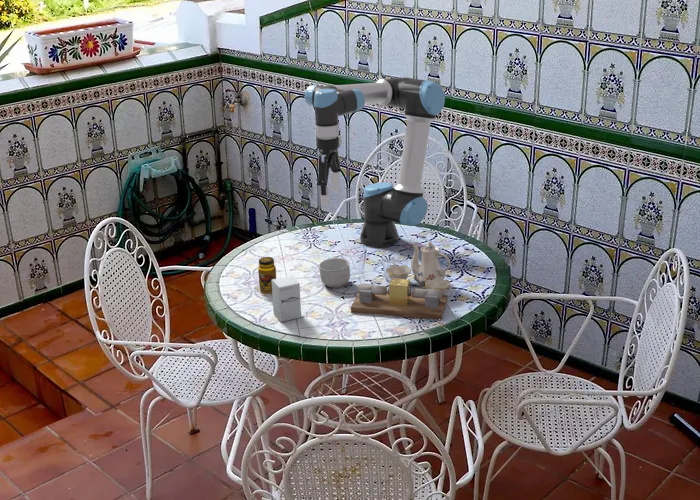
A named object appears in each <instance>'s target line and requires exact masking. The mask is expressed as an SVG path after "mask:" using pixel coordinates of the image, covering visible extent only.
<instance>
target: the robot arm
mask: <svg viewBox="0 0 700 500" xmlns="http://www.w3.org/2000/svg"><path fill="white" fill-rule="evenodd" d="M445 95H446V94H445V92H444V90H443V87H442V86H441V85H440V84H439V83H438V82H435V81H431V80H429V79H427V80H425V79H418V78H412V77H404V76H403V77H396V78H395V77H394V78H386V79H378V80H377V81H376V82H369V83H367V82H366V83H354V84H353V83H351V84H336V85H320V84H312V85H311V84H310V85H309V86H308V87H307V88H306V89H305V92H304V101H305V103H306V105H308V106H310V107H313V108H314V117H315V126H314V130H315V133H316V148H317V149H318V150H319V151H321V152H322V154H321V155H319V156H318V162H319V164H318V175H317V183H316V186H319V194H320V195H319V196H320V197H319V199H320V205H321V204H323V205H327V204H328V205H329V204H330V195H329V194H330V193H329V184H328V182H329V181H328V180H329V175H330V190H331V192H332V191H333V192H334V191H335V192H340V174H339V173H341V172H342V169H341V163H340V159H339V154H338V149H339V147H340V139H339V135H340V131H339V117H340V116H344V115H349V114H353V113H356V112H359V111H361V110H362V109H363V108H364V107H365V105H374V104H377V105H378V106H381V107H385V106H386V107H387V106H389V107H392V108H393V107H394V108H398V109H402V110H404V113H403V115H404V117H405V118H406V121H407V122H406V128H405V135H404V140H403V147H402V153H401V160H400V166H399V167H400V168H399V174H398V179H397V181H398V182H397V183H396V184H395V185H394V184H393V183H391V182H376V183H372V184H368V185H367V186H365V187H364V188H363V196H362V198H363V215H364V216H363V217H364V219H363V220H364V222H363V225H362V229H361V233H360V239H359V240H360V242H361V244H362V245H364V246H368V247H371V248H385V247H390V246H393V245H395V244H397V243H398V242H399V232H398V229H397V227H396V224H395V223H397V224H400V225H402V226H409V227H415V226H417V225H419V224H421V223H422V221H423V220H424V219H425V217H426V215H427V212H428V210H429V209H428V206H429V205H428V202H427V199H426V198H424V190H423V189H422V185H421V184H422V180H423V179H422V178H423V172H424V165H425V160H426V159H425V158H426V154H427V147H428V142H429V134H430V128H431V123H433V122H434V121H435V120H436V116H437V115H439V114H440V113H442V110H444V108H445V107H444V106H445V102H446V96H445ZM330 170H331V172H330Z"/></svg>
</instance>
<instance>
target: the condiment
mask: <svg viewBox="0 0 700 500" xmlns="http://www.w3.org/2000/svg"><path fill="white" fill-rule="evenodd" d="M257 273H258V281H259V282H258V283H259V285H256V286H254V288H255V289H256V290H257V292H258V293H259V295H261V296H262V297H264V296H268V295H269V296H270V295H272V281H271V280H272V279H277V268H276V265H275V259H274V258H273V257H270V256H264V257H261V258H259V259H258V268H257Z"/></svg>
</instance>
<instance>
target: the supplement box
mask: <svg viewBox="0 0 700 500" xmlns="http://www.w3.org/2000/svg"><path fill="white" fill-rule="evenodd" d="M271 281H272V294H271V295H272V307H273V314H274V315H275V316H276V318H277V319H278V320H279V322H280V323H282V322H286V321H290V320H294V319H300V318H302V307H301V289H300V288H301V287H300V282H299V281H298V280H297V279H296V278H295V277H294V276H293V275H288V276H283V277H278V278H277V277H276V279H272V280H271Z"/></svg>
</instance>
